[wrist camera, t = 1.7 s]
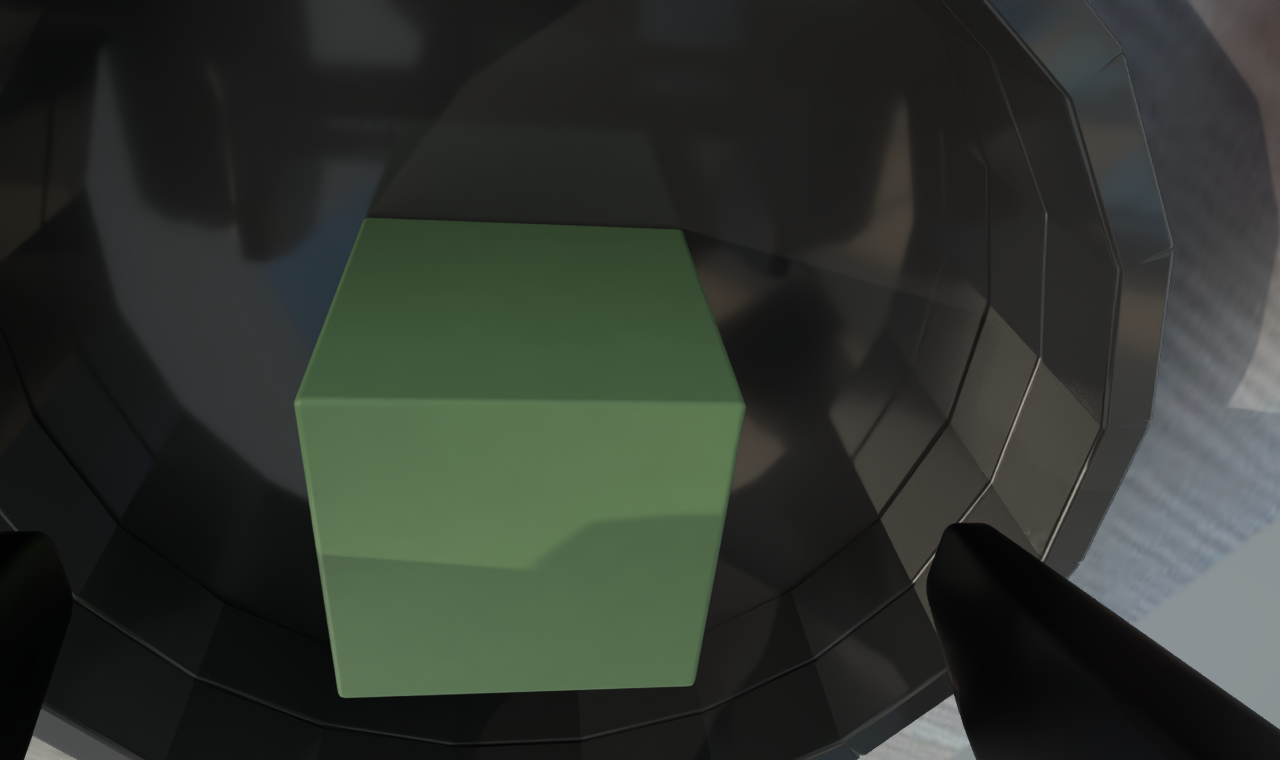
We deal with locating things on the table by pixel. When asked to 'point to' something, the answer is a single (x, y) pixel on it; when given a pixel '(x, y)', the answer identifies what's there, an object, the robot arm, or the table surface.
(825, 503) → the pan
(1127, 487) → the table surface
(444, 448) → the block
